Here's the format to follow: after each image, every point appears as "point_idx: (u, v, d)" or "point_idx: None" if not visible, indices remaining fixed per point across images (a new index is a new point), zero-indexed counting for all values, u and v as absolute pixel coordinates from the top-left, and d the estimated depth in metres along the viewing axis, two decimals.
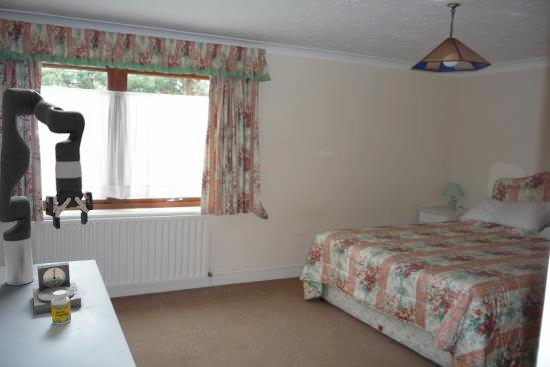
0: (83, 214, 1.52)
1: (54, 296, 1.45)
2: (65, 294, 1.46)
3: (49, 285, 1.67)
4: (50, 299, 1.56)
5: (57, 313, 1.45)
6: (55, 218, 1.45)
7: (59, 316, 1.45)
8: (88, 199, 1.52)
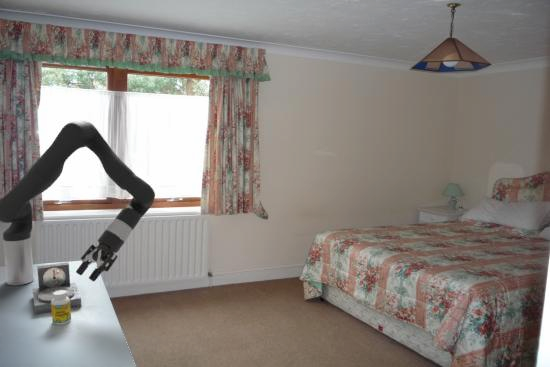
0: (86, 266, 1.57)
1: (54, 296, 1.45)
2: (65, 294, 1.46)
3: (49, 285, 1.67)
4: (50, 299, 1.56)
5: (57, 313, 1.45)
6: None
7: (59, 316, 1.45)
8: None
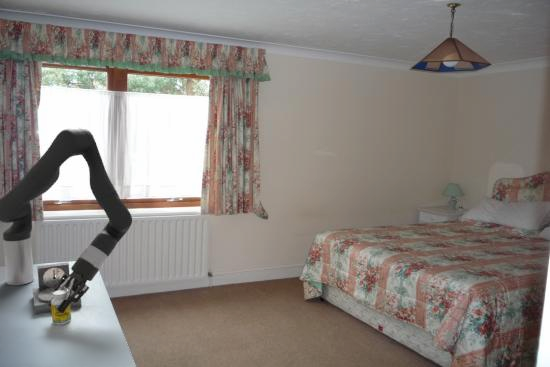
0: None
1: (54, 296, 1.45)
2: (65, 294, 1.46)
3: (49, 285, 1.67)
4: (50, 299, 1.56)
5: (57, 313, 1.45)
6: None
7: (59, 316, 1.45)
8: None
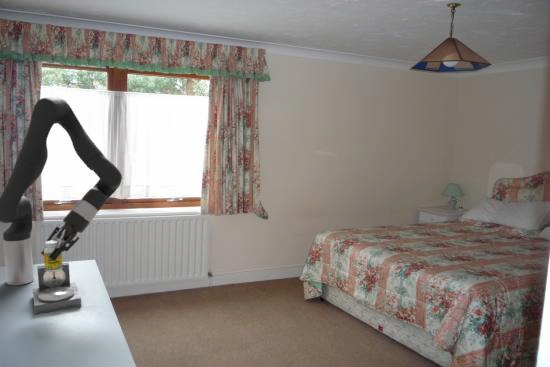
0: None
1: (46, 245, 1.55)
2: (57, 243, 1.56)
3: (49, 285, 1.67)
4: (50, 299, 1.56)
5: (50, 260, 1.55)
6: None
7: (51, 263, 1.55)
8: None
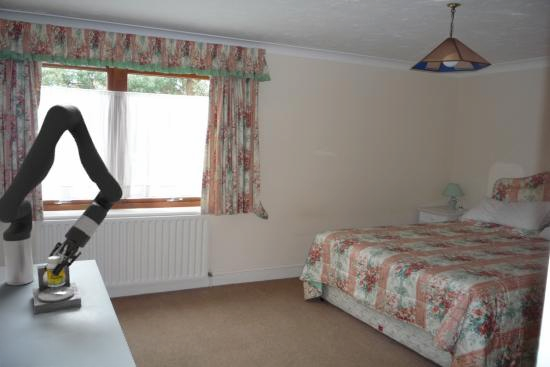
0: None
1: (49, 260, 1.57)
2: (59, 259, 1.59)
3: None
4: (50, 299, 1.56)
5: (52, 276, 1.57)
6: None
7: (54, 278, 1.58)
8: None
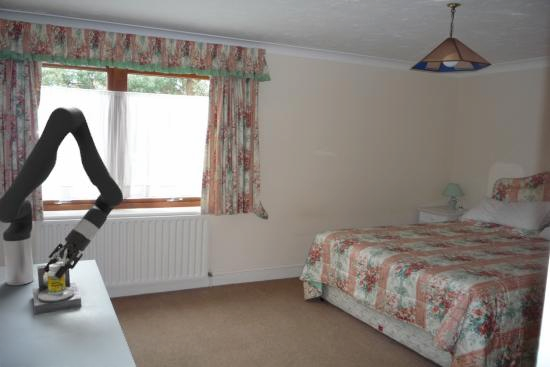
0: None
1: (50, 268, 1.58)
2: (60, 266, 1.59)
3: None
4: (50, 299, 1.56)
5: (53, 283, 1.58)
6: None
7: (54, 286, 1.58)
8: None
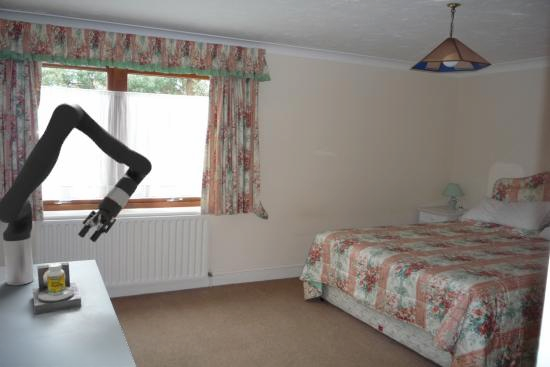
0: (87, 229, 1.71)
1: (50, 268, 1.58)
2: (60, 266, 1.59)
3: None
4: (50, 299, 1.56)
5: (53, 283, 1.58)
6: None
7: (54, 286, 1.58)
8: None
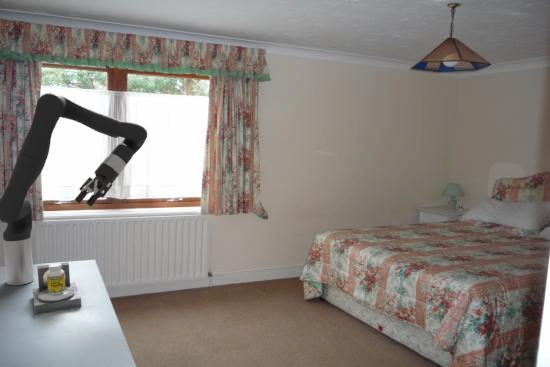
0: (84, 195, 1.74)
1: (50, 268, 1.58)
2: (60, 266, 1.59)
3: None
4: (50, 299, 1.56)
5: (53, 283, 1.58)
6: None
7: (54, 286, 1.58)
8: (90, 185, 1.77)
